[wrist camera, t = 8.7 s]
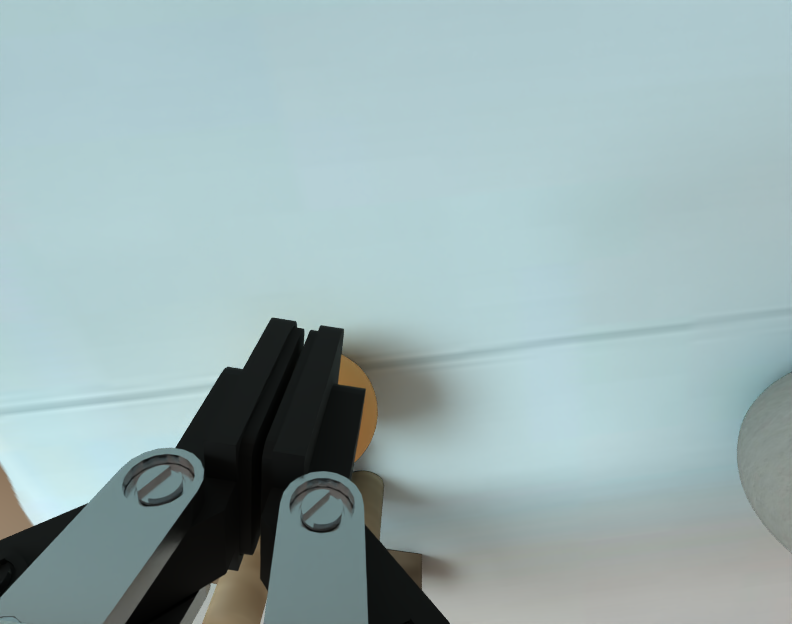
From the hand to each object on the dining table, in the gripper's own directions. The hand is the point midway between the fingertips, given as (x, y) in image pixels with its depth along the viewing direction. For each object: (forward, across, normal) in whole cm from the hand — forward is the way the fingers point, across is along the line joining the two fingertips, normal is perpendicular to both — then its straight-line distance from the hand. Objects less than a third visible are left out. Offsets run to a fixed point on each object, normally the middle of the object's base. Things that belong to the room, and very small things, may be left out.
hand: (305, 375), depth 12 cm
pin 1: (+11, +3, +17) cm, 20 cm away
